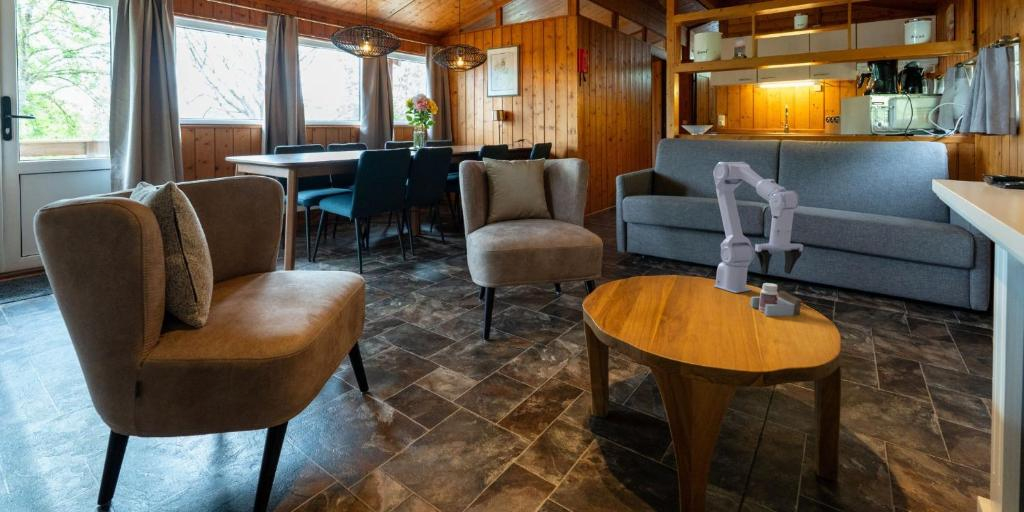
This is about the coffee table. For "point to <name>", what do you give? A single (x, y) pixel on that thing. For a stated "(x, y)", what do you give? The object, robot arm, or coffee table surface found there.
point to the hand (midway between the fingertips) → (775, 273)
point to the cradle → (775, 307)
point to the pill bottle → (768, 295)
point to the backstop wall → (791, 301)
